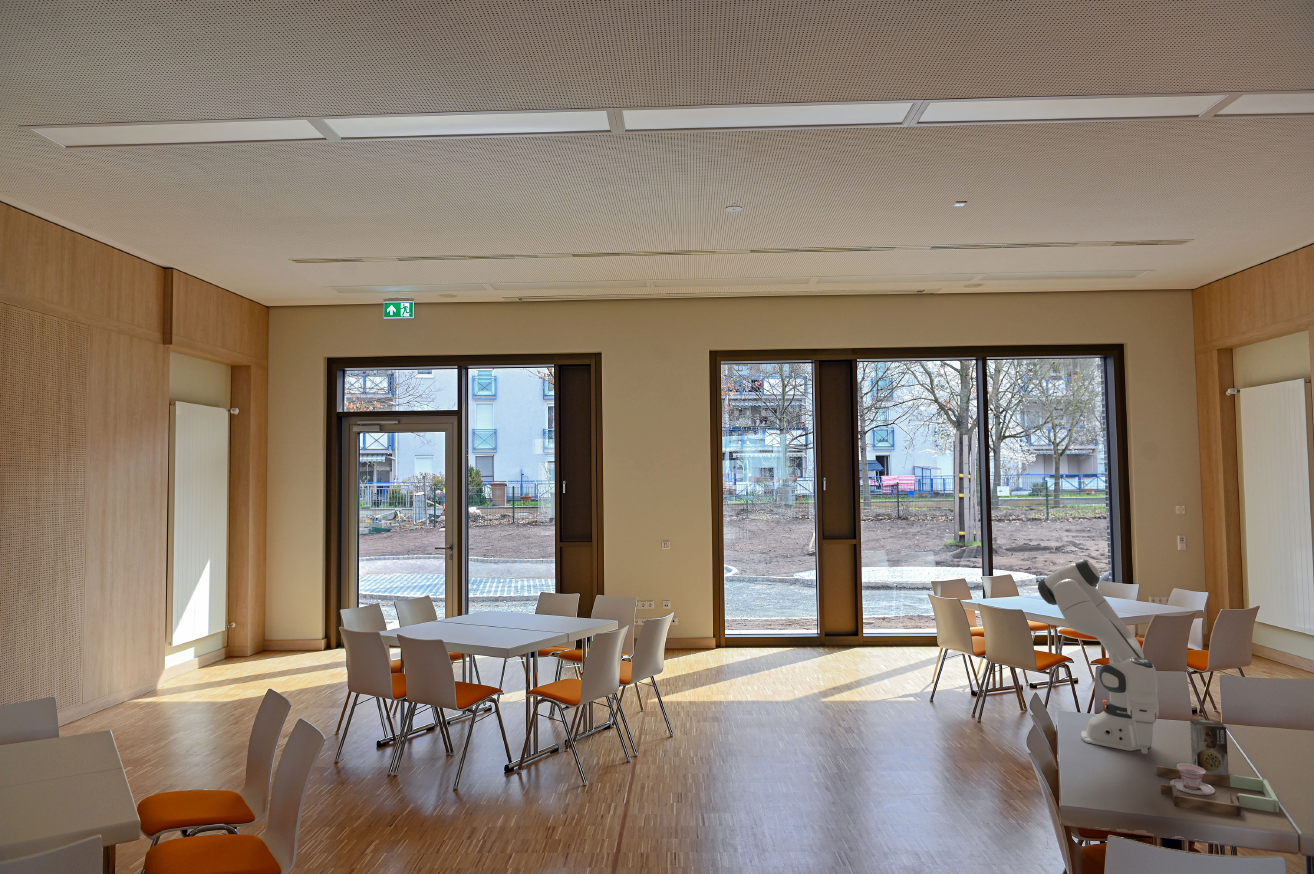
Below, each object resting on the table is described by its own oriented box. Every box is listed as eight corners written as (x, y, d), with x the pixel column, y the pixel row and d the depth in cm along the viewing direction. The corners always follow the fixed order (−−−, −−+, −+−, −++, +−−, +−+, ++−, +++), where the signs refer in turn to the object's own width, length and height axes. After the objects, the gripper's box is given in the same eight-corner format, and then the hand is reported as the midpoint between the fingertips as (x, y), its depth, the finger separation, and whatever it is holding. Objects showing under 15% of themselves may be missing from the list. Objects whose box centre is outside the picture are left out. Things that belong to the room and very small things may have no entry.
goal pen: (1239, 806, 240) (1238, 794, 241) (1229, 785, 256) (1229, 774, 256) (1278, 812, 236) (1278, 800, 236) (1266, 790, 251) (1266, 779, 251)
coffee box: (1222, 768, 269) (1220, 720, 270) (1229, 775, 263) (1227, 726, 264) (1191, 765, 272) (1189, 718, 273) (1197, 772, 266) (1195, 724, 267)
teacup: (1161, 780, 261) (1161, 761, 261) (1199, 780, 260) (1198, 761, 261) (1185, 795, 249) (1184, 775, 249) (1224, 795, 248) (1223, 775, 249)
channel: (1163, 803, 243) (1163, 794, 243) (1156, 774, 265) (1156, 765, 265) (1244, 817, 233) (1243, 806, 234) (1229, 785, 256) (1229, 775, 256)
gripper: (1130, 699, 271) (1132, 740, 270) (1132, 716, 253) (1133, 760, 252) (1152, 701, 267) (1154, 743, 267) (1155, 719, 250) (1157, 763, 249)
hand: (1144, 751), depth 259 cm, fingers closed
